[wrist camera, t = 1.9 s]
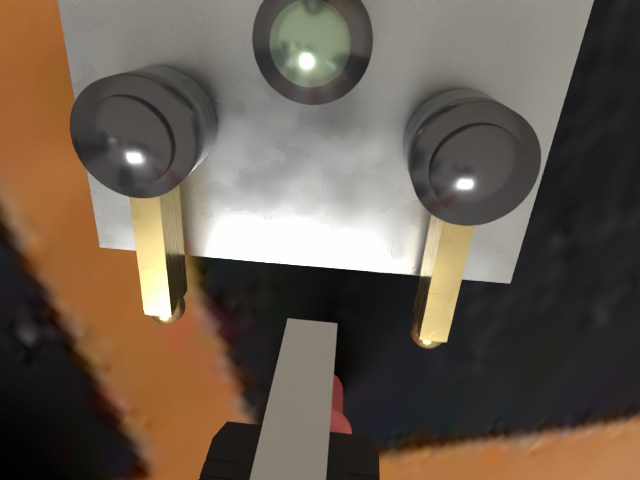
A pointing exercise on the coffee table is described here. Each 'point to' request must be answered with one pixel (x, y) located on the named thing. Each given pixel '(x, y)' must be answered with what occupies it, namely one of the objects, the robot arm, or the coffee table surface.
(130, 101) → the screw
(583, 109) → the coffee table surface
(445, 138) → the screw
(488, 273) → the tribrach plate
